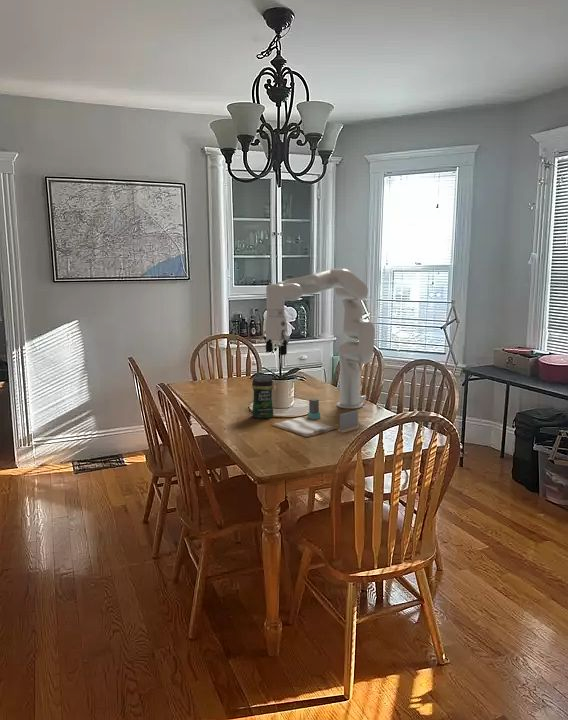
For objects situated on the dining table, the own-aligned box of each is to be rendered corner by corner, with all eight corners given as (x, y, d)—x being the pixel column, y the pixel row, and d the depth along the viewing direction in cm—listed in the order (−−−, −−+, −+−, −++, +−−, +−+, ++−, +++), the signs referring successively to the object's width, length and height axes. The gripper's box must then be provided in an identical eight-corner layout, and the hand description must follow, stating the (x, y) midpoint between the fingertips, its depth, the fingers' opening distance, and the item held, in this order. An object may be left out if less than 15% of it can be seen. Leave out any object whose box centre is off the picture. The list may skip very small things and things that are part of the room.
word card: (354, 426, 250) (354, 409, 249) (359, 428, 248) (359, 410, 246) (337, 431, 244) (337, 413, 242) (342, 432, 241) (343, 415, 240)
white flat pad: (301, 418, 264) (301, 414, 264) (337, 429, 246) (337, 425, 246) (271, 425, 253) (271, 421, 253) (306, 437, 236) (306, 433, 235)
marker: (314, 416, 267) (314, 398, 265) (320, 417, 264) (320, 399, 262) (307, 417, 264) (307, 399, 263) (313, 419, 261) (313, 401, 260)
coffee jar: (253, 419, 262) (252, 379, 259) (251, 414, 270) (250, 375, 267) (274, 418, 264) (274, 378, 260) (272, 413, 272) (271, 374, 268)
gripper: (295, 314, 243) (296, 354, 246) (270, 311, 256) (270, 349, 259) (281, 315, 238) (282, 357, 241) (256, 312, 251) (257, 351, 254)
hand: (276, 353), depth 250 cm, fingers open, 9 cm apart
